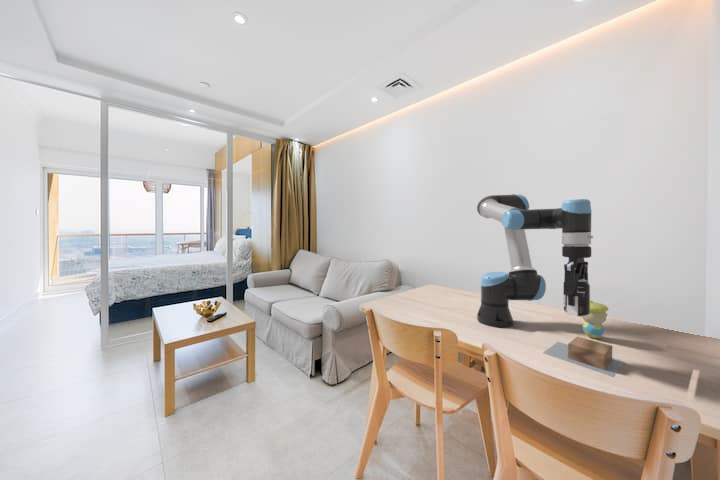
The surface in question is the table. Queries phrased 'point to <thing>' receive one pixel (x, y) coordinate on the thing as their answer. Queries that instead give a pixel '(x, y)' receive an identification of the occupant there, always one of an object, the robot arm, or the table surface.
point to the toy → (595, 320)
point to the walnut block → (590, 352)
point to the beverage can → (581, 298)
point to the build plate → (561, 352)
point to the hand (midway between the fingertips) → (576, 312)
